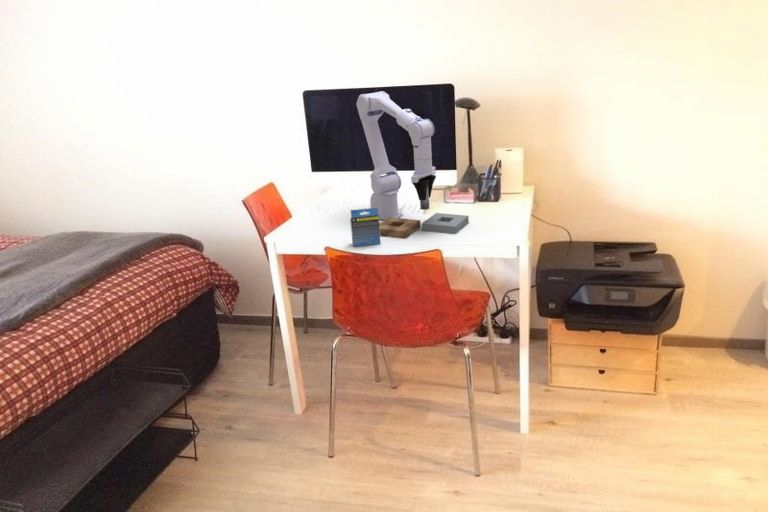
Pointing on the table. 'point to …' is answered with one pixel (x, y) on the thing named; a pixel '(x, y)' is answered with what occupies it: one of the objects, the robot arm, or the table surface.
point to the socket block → (398, 227)
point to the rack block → (445, 223)
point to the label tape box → (365, 227)
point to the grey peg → (425, 202)
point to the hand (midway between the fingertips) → (424, 198)
